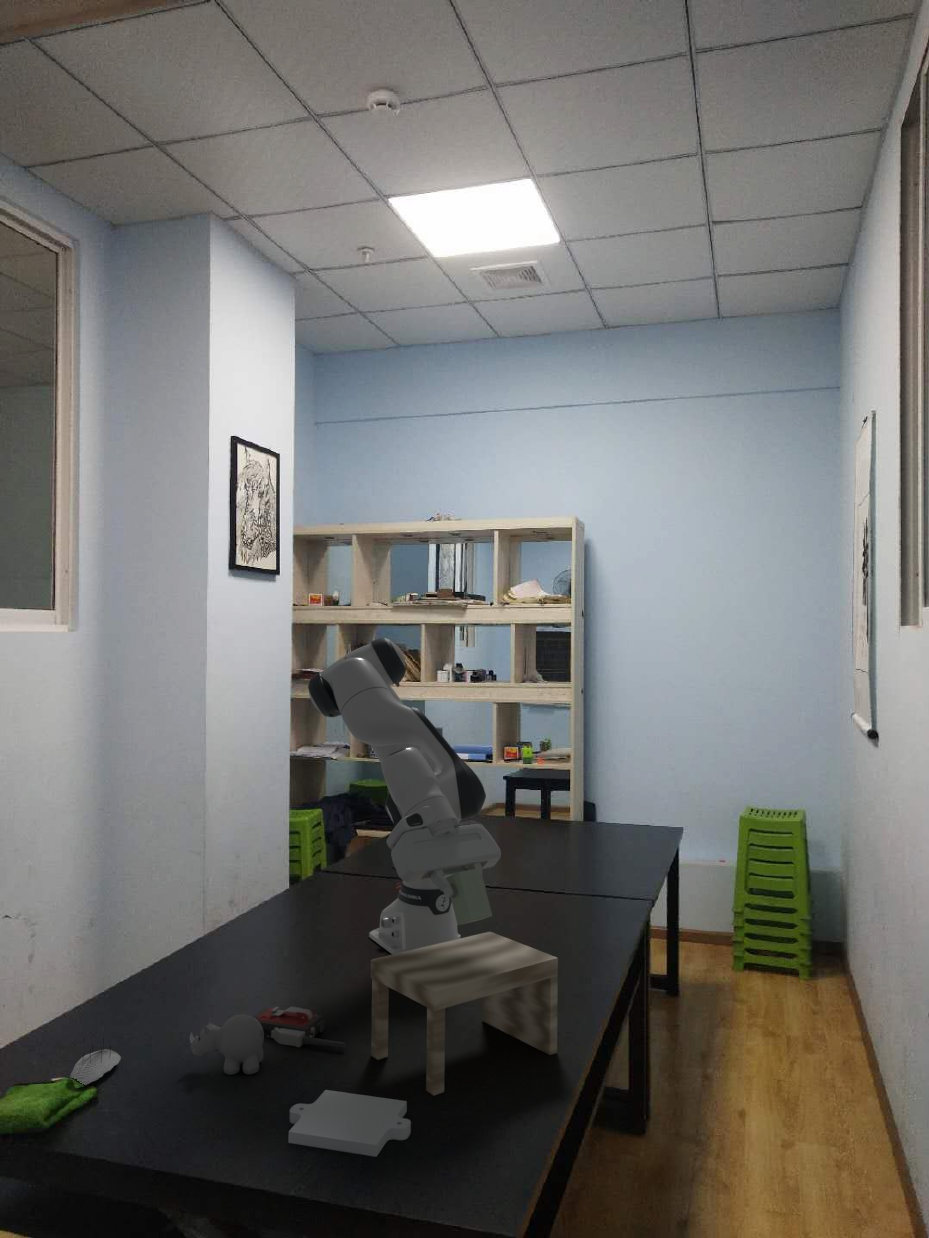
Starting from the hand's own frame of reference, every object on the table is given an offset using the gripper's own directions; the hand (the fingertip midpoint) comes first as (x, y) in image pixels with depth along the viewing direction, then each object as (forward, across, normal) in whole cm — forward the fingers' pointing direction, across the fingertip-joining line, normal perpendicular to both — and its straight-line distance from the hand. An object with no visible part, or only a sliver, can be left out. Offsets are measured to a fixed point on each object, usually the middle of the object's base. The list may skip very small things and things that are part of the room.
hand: (466, 893), depth 165 cm
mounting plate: (+26, +28, -14) cm, 40 cm away
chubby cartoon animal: (+6, +34, -33) cm, 48 cm away
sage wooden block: (+4, 0, -1) cm, 5 cm away
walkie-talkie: (+3, +18, -36) cm, 41 cm away
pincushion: (-2, +51, -41) cm, 66 cm away
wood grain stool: (+19, 0, -20) cm, 27 cm away
